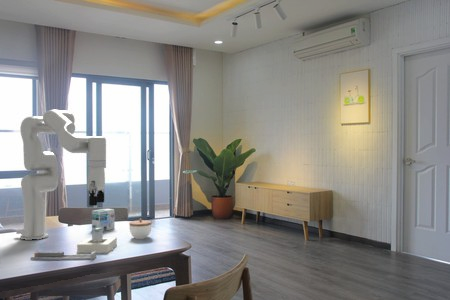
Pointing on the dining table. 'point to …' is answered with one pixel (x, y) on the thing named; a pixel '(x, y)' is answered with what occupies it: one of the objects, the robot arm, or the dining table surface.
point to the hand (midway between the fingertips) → (97, 203)
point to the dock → (96, 246)
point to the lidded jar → (140, 228)
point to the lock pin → (49, 254)
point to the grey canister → (97, 235)
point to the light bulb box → (103, 219)
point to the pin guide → (69, 257)
